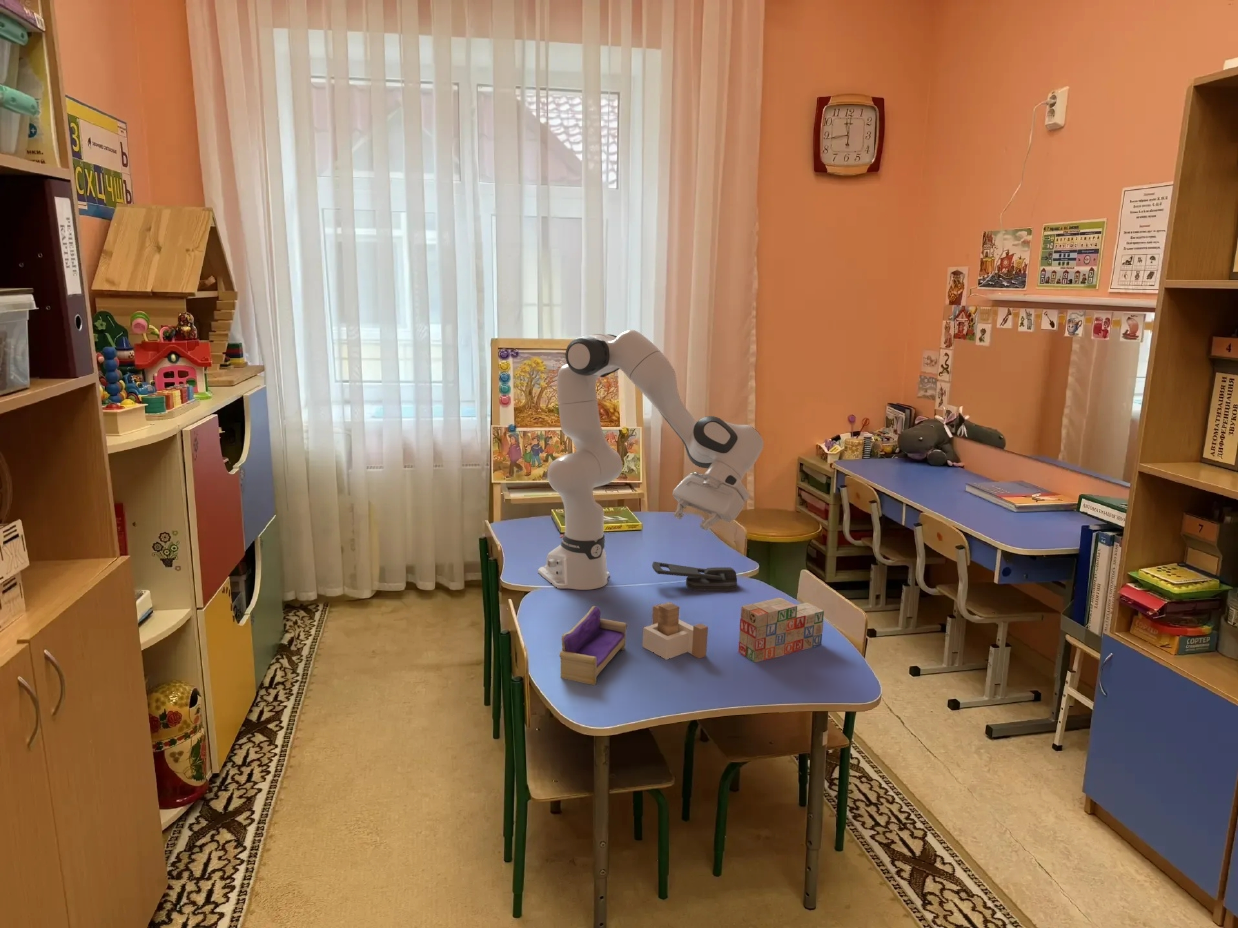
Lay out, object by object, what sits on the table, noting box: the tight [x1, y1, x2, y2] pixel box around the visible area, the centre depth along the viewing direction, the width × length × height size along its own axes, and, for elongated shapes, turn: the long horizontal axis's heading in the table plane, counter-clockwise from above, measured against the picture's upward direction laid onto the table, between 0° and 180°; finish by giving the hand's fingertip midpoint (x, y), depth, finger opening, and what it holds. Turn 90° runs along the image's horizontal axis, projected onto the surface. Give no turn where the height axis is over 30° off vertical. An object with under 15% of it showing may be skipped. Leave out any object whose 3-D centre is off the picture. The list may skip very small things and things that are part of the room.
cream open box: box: [642, 603, 709, 660], centre depth 201 cm, size 17×9×8 cm, turn 40°
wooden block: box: [658, 601, 680, 636], centre depth 200 cm, size 4×4×11 cm
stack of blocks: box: [737, 597, 825, 663], centre depth 202 cm, size 21×6×12 cm, turn 120°
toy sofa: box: [558, 605, 628, 686], centre depth 192 cm, size 21×9×10 cm, turn 159°
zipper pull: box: [651, 561, 738, 592], centre depth 241 cm, size 9×7×25 cm
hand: (689, 522), depth 208 cm, fingers open, 8 cm apart
